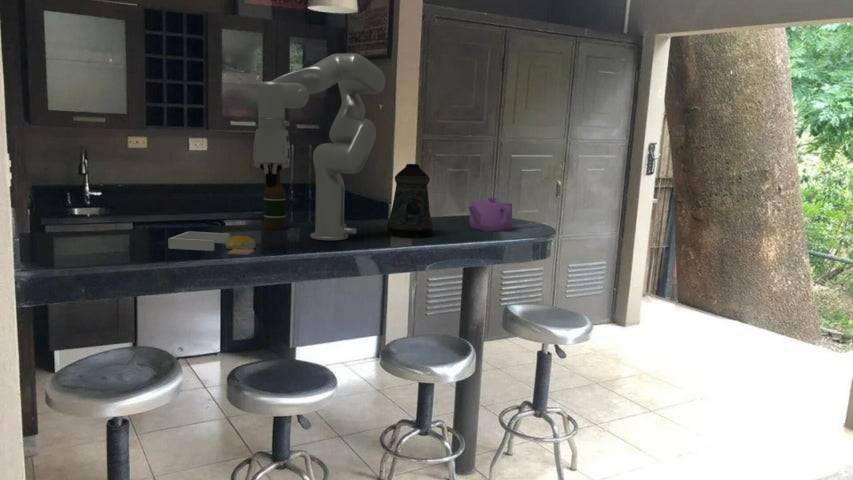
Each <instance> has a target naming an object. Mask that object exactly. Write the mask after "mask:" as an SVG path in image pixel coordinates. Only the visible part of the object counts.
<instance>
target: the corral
mask: <svg viewBox="0 0 853 480" xmlns="http://www.w3.org/2000/svg"><path fill="white" fill-rule="evenodd" d="M230 237H231V233H226V232H223V233H222V232H205V231H186V232H183V233H180V234H177V235H175V236H172V237H169V238H168V239H167V240H168V242H167V243H168V249H171V250H173V249H174V250H186V251H187V250H190V251H209V252H210V251H211V252H214V251H215V244H225V243H226V240H227V239H228V238H230Z"/></svg>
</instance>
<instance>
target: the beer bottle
mask: <svg viewBox="0 0 853 480" xmlns="http://www.w3.org/2000/svg"><path fill="white" fill-rule="evenodd" d="M270 167H271V172H272V170H273V164H271V163H270ZM281 182H282V181H281V171H280V172H279V173H278V174H277V185H276V187H274V188H271V187H270V188H268V187H267V186H266V188H265V189H264V192H263V228H264V229H265V230H266V231H267V230H268V231H282V229H283V230H285V229H286V226H287V225H286V224H287V221H286V220H287V201H286V200H287V195H286V191H285V188H284V187H283V185H282V184H281Z"/></svg>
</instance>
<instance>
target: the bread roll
mask: <svg viewBox="0 0 853 480" xmlns="http://www.w3.org/2000/svg"><path fill="white" fill-rule="evenodd" d="M224 244H225V249H227V250H233V249H249V250H255V249H256V245H257V243H256V241H255V240H254V239H253V238H252V237H250V236H247V235H233V236H230V238H228V239H227V240H226V243H224Z"/></svg>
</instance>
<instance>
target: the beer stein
mask: <svg viewBox="0 0 853 480" xmlns="http://www.w3.org/2000/svg"><path fill="white" fill-rule="evenodd" d="M430 179H431V178H430V177H429V176H428V174H427V173H426V172H425V171H423V169H422V168H421V167H420V164H418V163H406V165H405V167H404V168H402V169H401V170H400V171H398V172H397V174H396V175H395V176H394V181H395V190H394V194H393V200H392V206H391V211H390V215H389V218H388V221H387V222H386V230H387V234H388V236H390V237H393V238H402V239H424V238H430V237H432V234H433V233H432V232H433V229H434V225H433V222H432V219H431V213H430V211H431V210H430V201H429V189H428V185H429V183H430Z"/></svg>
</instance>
